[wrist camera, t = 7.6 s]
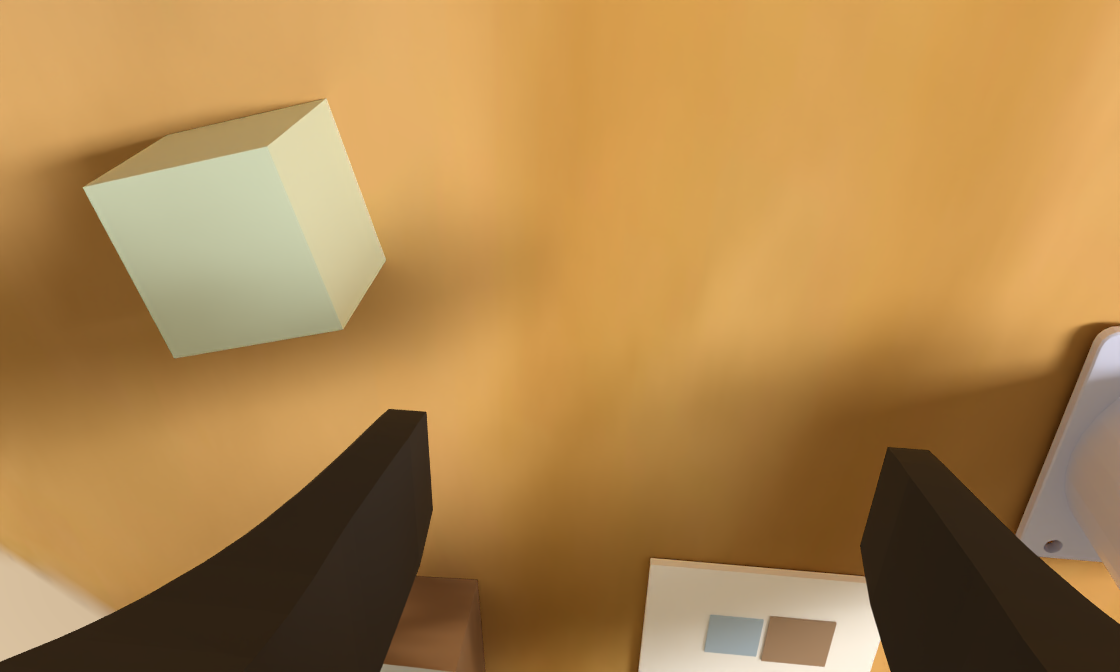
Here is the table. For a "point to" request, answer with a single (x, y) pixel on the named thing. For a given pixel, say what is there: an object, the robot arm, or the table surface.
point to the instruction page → (755, 620)
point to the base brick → (440, 627)
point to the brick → (243, 230)
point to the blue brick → (405, 669)
